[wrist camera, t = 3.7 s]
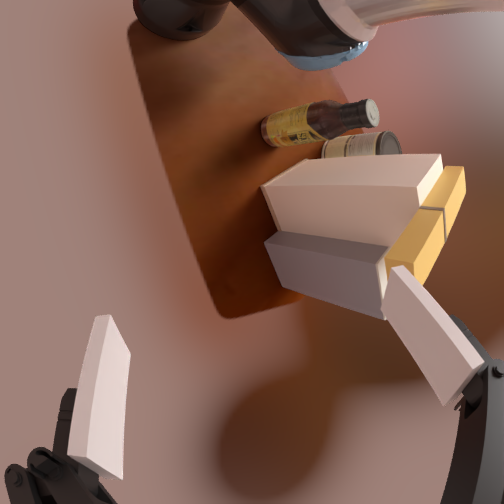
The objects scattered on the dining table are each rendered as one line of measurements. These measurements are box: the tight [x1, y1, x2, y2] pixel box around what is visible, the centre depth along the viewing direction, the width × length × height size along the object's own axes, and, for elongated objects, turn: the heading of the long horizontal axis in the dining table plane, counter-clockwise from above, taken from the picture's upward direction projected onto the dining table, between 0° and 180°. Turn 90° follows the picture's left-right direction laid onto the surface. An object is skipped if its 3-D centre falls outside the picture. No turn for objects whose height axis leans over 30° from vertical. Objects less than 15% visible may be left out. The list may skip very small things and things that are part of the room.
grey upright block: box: [264, 231, 391, 320], centre depth 47 cm, size 12×10×22 cm
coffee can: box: [321, 131, 402, 159], centre depth 55 cm, size 10×10×14 cm
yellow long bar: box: [384, 166, 466, 286], centre depth 30 cm, size 24×4×3 cm, turn 119°
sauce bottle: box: [261, 99, 379, 147], centre depth 41 cm, size 7×6×20 cm
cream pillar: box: [260, 154, 443, 248], centre depth 43 cm, size 12×9×27 cm
